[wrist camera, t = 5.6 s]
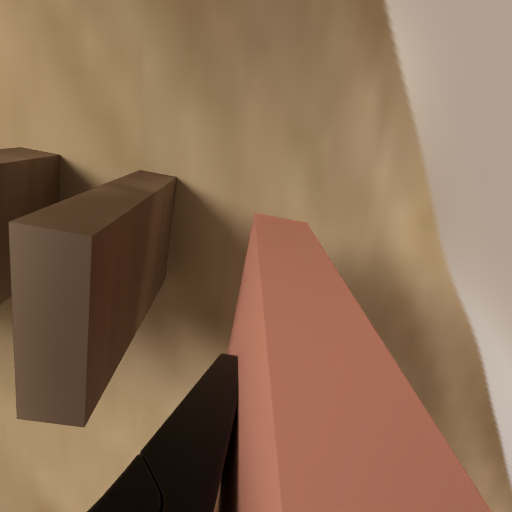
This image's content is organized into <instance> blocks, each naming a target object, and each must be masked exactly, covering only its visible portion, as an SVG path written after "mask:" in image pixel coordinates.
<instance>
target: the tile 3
mask: <svg viewBox="0 0 512 512" xmlns="http://www.w3.org/2000/svg"><path fill="white" fill-rule="evenodd" d="M176 179H177V177H173V176H168V175H163V174H157V173H152V172H147V171H142V170H139V171H137V172H134V173H131V174H129V175H126V176H124V177H121V178H119V179H116V180H114V181H111V182H109V183H106V184H103V185H101V186H98V187H96V188H93V189H91V190H88V191H86V192H83V193H81V194H78V195H76V196H73V197H70V198H68V199H65V200H63V201H60V202H58V203H55V204H53V205H50V206H48V207H45V208H42V209H40V210H37V211H35V212H32V213H30V214H27V215H25V216H22V217H20V218H17V219H15V220H12V221H9V244H10V268H11V291H12V315H13V338H14V362H15V385H16V409H17V419H23V420H31V421H38V422H46V423H54V424H62V425H70V426H78V427H85V425H86V423H87V422H88V420H89V418H90V416H91V414H92V412H93V411H94V409H95V407H96V405H97V403H98V401H99V400H100V398H101V396H102V394H103V392H104V390H105V389H106V387H107V385H108V383H109V381H110V379H111V378H112V376H113V374H114V372H115V370H116V368H117V366H118V365H119V363H120V361H121V359H122V357H123V355H124V354H125V352H126V350H127V348H128V346H129V344H130V343H131V341H132V339H133V337H134V335H135V333H136V332H137V330H138V328H139V326H140V324H141V322H142V321H143V319H144V317H145V315H146V313H147V311H148V310H149V308H150V306H151V304H152V302H153V300H154V299H155V297H156V295H157V293H158V291H159V289H160V288H161V286H162V284H163V282H164V280H165V273H166V264H167V256H168V247H169V239H170V230H171V222H172V213H173V205H174V196H175V188H176Z"/></svg>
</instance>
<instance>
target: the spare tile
mask: <svg viewBox="0 0 512 512" xmlns="http://www.w3.org/2000/svg"><path fill="white" fill-rule="evenodd" d="M227 354H230V355H236V356H238V382H239V395H238V404H237V409H236V413H235V418H234V422H233V427H232V431H231V436H230V441H229V445H228V450H227V454H226V459H225V463H224V468H223V472H222V477H221V481H220V486H219V490H218V495H217V500H216V504H215V509H214V512H491V510H490V509H489V507H488V506H487V504H486V502H485V501H484V499H483V498H482V496H481V495H480V493H479V491H478V490H477V488H476V487H475V485H474V484H473V482H472V481H471V479H470V477H469V476H468V474H467V473H466V471H465V470H464V468H463V466H462V465H461V463H460V462H459V460H458V459H457V457H456V456H455V454H454V452H453V451H452V449H451V448H450V446H449V445H448V443H447V441H446V440H445V438H444V437H443V435H442V434H441V432H440V430H439V429H438V427H437V426H436V424H435V423H434V421H433V420H432V418H431V416H430V415H429V413H428V412H427V410H426V409H425V407H424V405H423V404H422V402H421V401H420V399H419V398H418V396H417V395H416V393H415V391H414V390H413V388H412V387H411V385H410V384H409V382H408V380H407V379H406V377H405V376H404V374H403V373H402V371H401V369H400V368H399V366H398V365H397V363H396V362H395V360H394V359H393V357H392V355H391V354H390V352H389V351H388V349H387V348H386V346H385V344H384V343H383V341H382V340H381V338H380V337H379V335H378V334H377V332H376V330H375V329H374V327H373V326H372V324H371V323H370V321H369V319H368V318H367V316H366V315H365V313H364V312H363V310H362V308H361V307H360V305H359V304H358V302H357V301H356V299H355V298H354V296H353V294H352V293H351V291H350V290H349V288H348V287H347V285H346V283H345V282H344V280H343V279H342V277H341V276H340V274H339V273H338V271H337V269H336V268H335V266H334V265H333V263H332V262H331V260H330V258H329V257H328V255H327V254H326V252H325V251H324V249H323V247H322V246H321V244H320V243H319V241H318V240H317V238H316V237H315V235H314V233H313V232H312V230H311V229H310V227H309V226H308V224H307V223H305V222H300V221H294V220H289V219H283V218H278V217H272V216H267V215H261V214H256V213H254V218H253V223H252V228H251V233H250V238H249V244H248V249H247V254H246V259H245V264H244V269H243V274H242V280H241V285H240V290H239V295H238V300H237V305H236V310H235V316H234V321H233V326H232V331H231V336H230V341H229V346H228V351H227Z"/></svg>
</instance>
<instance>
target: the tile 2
mask: <svg viewBox="0 0 512 512" xmlns="http://www.w3.org/2000/svg"><path fill="white" fill-rule="evenodd" d="M59 160H60V155H58V154H53V153H47V152H42V151H37V150H32V149H26V148H21V147H19V148H8V149H0V304H1V303H3V302H4V301H5V300H7V299H8V298H10V297H11V296H12V291H11V268H10V244H9V221H12V220H15V219H17V218H20V217H22V216H25V215H27V214H30V213H32V212H35V211H37V210H40V209H42V208H45V207H48V206H50V205H53V204H55V203H58V202H59Z"/></svg>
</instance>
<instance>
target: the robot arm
mask: <svg viewBox="0 0 512 512" xmlns="http://www.w3.org/2000/svg"><path fill="white" fill-rule="evenodd" d="M238 395H239V382H238V356H236V355H230V354H221V355H220V356H219V357H218V358H217V359H216V360H215V362H214V363H213V364H212V365H211V366H210V368H209V369H208V370H207V371H206V372H205V374H204V375H203V376H202V377H201V379H200V380H199V381H198V382H197V383H196V385H195V386H194V387H193V388H192V390H191V391H190V392H189V393H188V394H187V396H186V397H185V398H184V399H183V400H182V402H181V403H180V404H179V405H178V407H177V408H176V409H175V410H174V411H173V413H172V414H171V415H170V416H169V418H168V419H167V420H166V421H165V422H164V424H163V425H162V426H161V427H160V428H159V430H158V431H157V432H156V433H155V435H154V436H153V437H152V438H151V439H150V441H149V442H148V443H147V444H146V446H145V447H144V448H143V449H142V450H141V452H140V455H137V456H136V457H135V459H134V460H133V461H132V462H131V463H130V465H129V466H128V467H127V468H126V470H125V471H124V472H123V473H122V474H121V475H120V477H119V478H118V479H117V480H116V481H115V482H114V483H113V484H112V486H111V487H110V488H109V489H108V490H107V491H106V492H105V494H104V495H103V496H102V497H101V498H100V499H99V500H98V501H97V502H96V503H95V504H94V505H93V506H92V507H91V508H90V509H89V510H88V511H87V512H214V509H215V504H216V500H217V495H218V490H219V486H220V481H221V477H222V472H223V468H224V463H225V459H226V454H227V450H228V445H229V441H230V436H231V431H232V427H233V422H234V418H235V413H236V409H237V404H238Z"/></svg>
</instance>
